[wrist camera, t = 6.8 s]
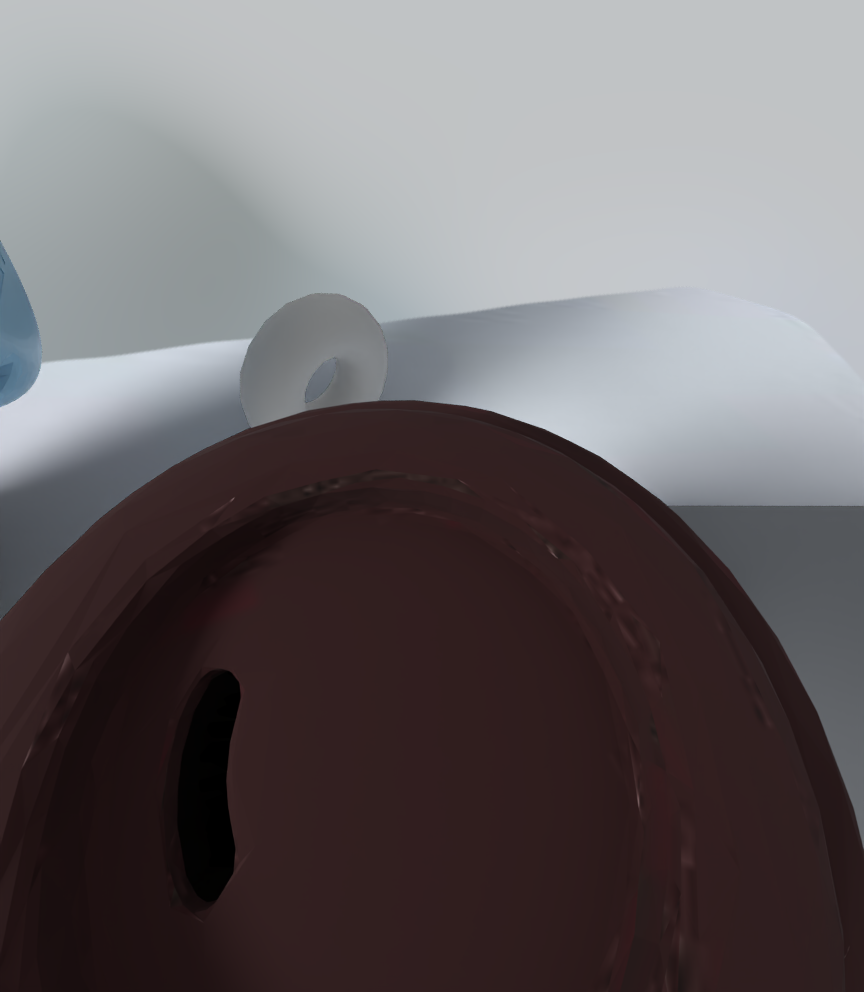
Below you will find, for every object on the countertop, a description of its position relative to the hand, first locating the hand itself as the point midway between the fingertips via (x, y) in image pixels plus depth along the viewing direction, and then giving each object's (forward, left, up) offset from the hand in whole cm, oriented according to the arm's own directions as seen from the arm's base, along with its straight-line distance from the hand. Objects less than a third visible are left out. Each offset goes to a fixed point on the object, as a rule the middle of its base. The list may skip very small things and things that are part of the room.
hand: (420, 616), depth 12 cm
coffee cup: (+2, -3, -6) cm, 7 cm away
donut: (-15, +8, -11) cm, 20 cm away
